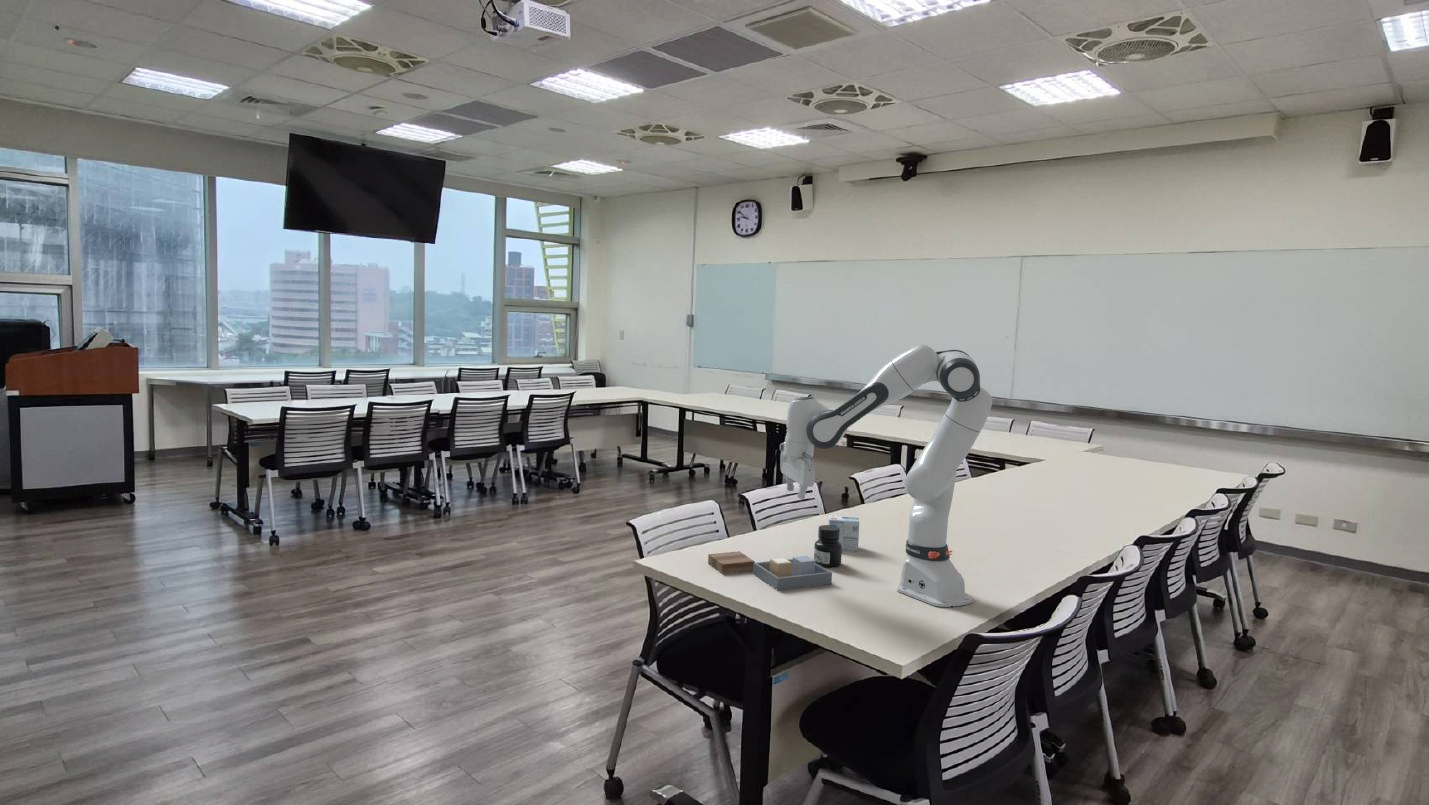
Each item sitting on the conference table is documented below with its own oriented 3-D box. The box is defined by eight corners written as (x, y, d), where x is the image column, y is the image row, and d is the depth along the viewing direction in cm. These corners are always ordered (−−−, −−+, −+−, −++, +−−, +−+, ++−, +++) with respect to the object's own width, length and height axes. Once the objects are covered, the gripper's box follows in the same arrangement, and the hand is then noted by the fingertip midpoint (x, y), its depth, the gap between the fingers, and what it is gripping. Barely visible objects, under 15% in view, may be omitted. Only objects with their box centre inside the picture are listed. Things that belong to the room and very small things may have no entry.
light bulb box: (856, 546, 277) (858, 516, 276) (858, 551, 270) (860, 521, 269) (826, 544, 278) (828, 514, 277) (827, 549, 271) (829, 519, 270)
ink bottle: (808, 560, 258) (810, 524, 257) (831, 558, 261) (833, 523, 260) (822, 569, 249) (824, 532, 248) (846, 567, 252) (848, 530, 251)
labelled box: (791, 582, 236) (792, 562, 235) (776, 583, 233) (777, 563, 233) (783, 577, 240) (784, 557, 239) (768, 578, 238) (769, 558, 237)
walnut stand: (754, 570, 245) (754, 561, 245) (722, 574, 240) (722, 564, 240) (738, 560, 255) (739, 551, 255) (708, 563, 250) (708, 554, 250)
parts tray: (831, 584, 235) (832, 572, 235) (777, 590, 228) (777, 578, 227) (804, 568, 249) (805, 557, 249) (752, 573, 242) (753, 562, 241)
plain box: (814, 579, 239) (815, 560, 238) (800, 581, 237) (801, 562, 236) (805, 574, 243) (806, 555, 243) (791, 576, 241) (792, 557, 241)
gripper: (822, 456, 227) (818, 503, 229) (796, 443, 247) (793, 486, 248) (801, 456, 225) (797, 503, 227) (778, 443, 245) (774, 486, 247)
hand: (795, 494), depth 238 cm, fingers open, 8 cm apart
